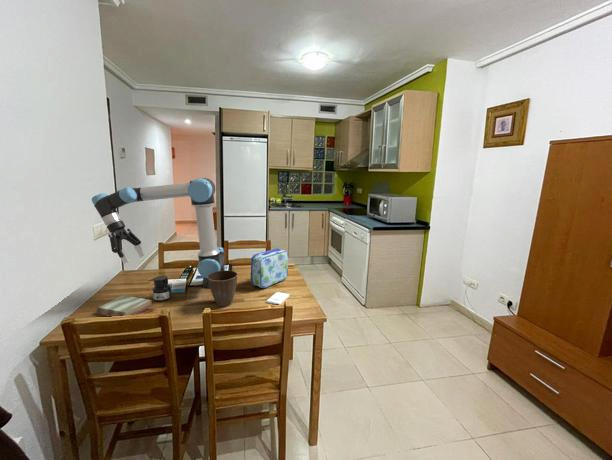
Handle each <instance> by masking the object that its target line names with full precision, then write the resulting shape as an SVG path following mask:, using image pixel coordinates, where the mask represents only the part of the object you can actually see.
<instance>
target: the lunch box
mask: <svg viewBox="0 0 612 460" xmlns="http://www.w3.org/2000/svg"><path fill="white" fill-rule="evenodd" d="M288 274H289V253H288V252H287V250H282V249H280V248H274V249H270V250H266V251H262V252H257V253H255V254H253V255H252V256H251V259H250V283H251V285H253V286H257V287H259V288H262V289H266V288H269V287H271V286H273V285H276V284H277V283H281V282H282V281H285V280H286V279H287V278H288Z"/></svg>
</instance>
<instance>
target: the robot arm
mask: <svg viewBox="0 0 612 460" xmlns="http://www.w3.org/2000/svg"><path fill="white" fill-rule="evenodd" d="M215 192H216V185H215V183H214V182H213V180H211V179H210V178H206V177H199V178H195V179H193V180H189V181H188V182H183V183H173V184H172V183H171V184H163V185H153V186H143V187H131V186H125V187H123V188H120V189H118V190H117V191H115V192H113V193H110V194H108V193H106V192H105V193H104V192H103V193H99V194H96V195H94V196H92V198H91V203H92V204H93V206H94V208H95V209H96V211H97V214H99V216H100V218H101V219H102V221H103V223H104V224H105V226H106V229H107V230H108V231H109V233H108V238H109V241H110V242H109V243H110V248H111V252H112V253H113V254H116V253H117V256H118V257H119V259H121V262H122V263H123V264H124V265H125V264H127V263H129V262H130V260H129V257H128V256H127V255H126V253H125V251H124V250H123V249H122V244H123V243H122V241H124V240H125V241H127V242H128V243H130V244H132V245H133V246H134V249H135V251H136V252H137V254H138V256H139V258H142V257H144V256H145V255H146V254H145V252H144V250H143V248H142V247H141V244H142V241H141V240H140V239H139V238H138V237H137V236H136V235H135V234H134V233H133V232H132V231H131V229H130V228H127V229H126V228H125V227H126V225H125V223H124V221H123V220H122V218H121V216H120V214H119V212H118V211H117V209H119V208H121V207H124V206H125V205H128V204H133V203H137V202H145V201H157V200H165V199H177V198H185V197H188V198H190V202H191V206H192V207H194V209H195V217H196V225H197V227H196V228H197V233H198V234H197V235H198V241H199V252H198V253H197V258H198V264H197V272H198V274H199V275H201V277H203V278H202V286H203V287H204V288H206V289H207V288H208V289H210V286H209V283H208V278H207V276H208V275H209V274H211V273H213V272H217V271H224V270H225V251H224V247H222V246H221V247H220V246H217V241H216V240H217V239H216V231H215V222H214V215H213V214H214V213H213V206H214V205H215Z"/></svg>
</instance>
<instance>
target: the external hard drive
mask: <svg viewBox="0 0 612 460" xmlns="http://www.w3.org/2000/svg"><path fill="white" fill-rule="evenodd" d="M289 297H290V293H285V292H280V291H276V292H275V293H273V295H271V296H270V297H269V298H268V299H267V300H266V301H265V303H266V304H270V305H275V304H281V305H282V303H284V302H285V301H286V300H287V299H288V298H289Z"/></svg>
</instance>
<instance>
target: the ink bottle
mask: <svg viewBox="0 0 612 460" xmlns="http://www.w3.org/2000/svg"><path fill="white" fill-rule="evenodd" d="M153 285H154V286H152V298H153V301H154V302H160V303H161V302H167V301H168V300H170V299H172V286H171V284H169V278H168V276H167V275H158V276H155V277H154V278H153Z"/></svg>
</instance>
